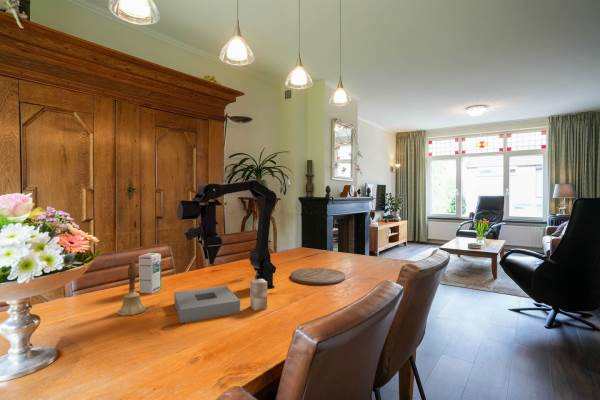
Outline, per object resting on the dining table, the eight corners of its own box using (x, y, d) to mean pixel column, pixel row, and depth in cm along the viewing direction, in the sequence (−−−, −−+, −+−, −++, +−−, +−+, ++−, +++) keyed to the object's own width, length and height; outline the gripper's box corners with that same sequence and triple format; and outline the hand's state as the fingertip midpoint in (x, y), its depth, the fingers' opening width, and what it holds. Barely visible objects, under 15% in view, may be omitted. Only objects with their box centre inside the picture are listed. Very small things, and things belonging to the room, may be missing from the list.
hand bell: (126, 306, 106) (126, 259, 106) (150, 306, 106) (150, 259, 106) (111, 315, 98) (110, 264, 98) (137, 316, 98) (137, 265, 97)
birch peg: (262, 304, 109) (262, 278, 109) (267, 308, 105) (267, 281, 105) (250, 306, 107) (250, 280, 107) (254, 310, 103) (254, 283, 103)
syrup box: (152, 293, 119) (152, 255, 119) (138, 292, 120) (138, 255, 120) (161, 289, 125) (161, 253, 124) (148, 288, 126) (148, 252, 126)
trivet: (353, 276, 148) (353, 272, 148) (329, 289, 127) (329, 285, 127) (308, 269, 161) (308, 265, 161) (279, 280, 140) (279, 276, 140)
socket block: (226, 296, 117) (226, 285, 117) (240, 312, 101) (240, 300, 101) (174, 303, 109) (174, 292, 109) (180, 323, 93) (180, 309, 93)
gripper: (182, 217, 118) (182, 258, 118) (187, 221, 101) (188, 270, 101) (212, 216, 123) (212, 255, 123) (222, 220, 106) (223, 266, 106)
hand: (208, 261), depth 113 cm, fingers open, 9 cm apart
